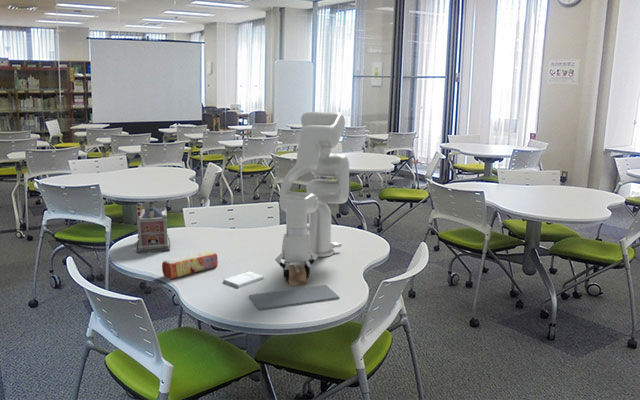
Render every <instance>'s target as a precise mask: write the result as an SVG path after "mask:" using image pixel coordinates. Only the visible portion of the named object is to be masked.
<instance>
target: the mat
mask: <svg viewBox="0 0 640 400" xmlns="http://www.w3.org/2000/svg"><path fill="white" fill-rule="evenodd" d="M249 298H250V300H251V301H252V302H253V304H254V305H255V307H256V308H257V309H258V311H262V310H269V309H276V308H283V307H290V306H297V305H303V304H311V303H319V302H325V301H331V300H332V301H333V300H339V299H340V296H339V295H338V294H337V293H336V292H335V291H334V290H333V289H331V288H330V287H329V286H328V285H327V284H321V285H314V286H307V287H306V286H305V287H299V288H292V289H284V290H275V291H270V292H268V291H267V292H261V293H254V294H249Z"/></svg>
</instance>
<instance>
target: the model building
mask: <svg viewBox="0 0 640 400" xmlns="http://www.w3.org/2000/svg"><path fill="white" fill-rule="evenodd" d="M136 205H137V210H136V223H137V225H136V226H137V241H136V249H135V250H136V251H135V252H136V253H135V254H137V253H138V254H149V253H148V252H150V253H158V252H161V251H162V252H170V250H171V239H170V237H169V234H168V224H167V223H168V219H167V215H168V214H167V207H165V206H164V207H162V208H158V207H155V206H154V202H153V201H149V207H147V208H145V209H144V208H141V207H142V206H141V202H137V204H136Z"/></svg>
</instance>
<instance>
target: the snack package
mask: <svg viewBox="0 0 640 400" xmlns="http://www.w3.org/2000/svg"><path fill="white" fill-rule="evenodd" d="M218 259H219V258H218V254H217V253H216V252H215V251H211V250H207V251H203V252H199V253H194V254H189V255H186V256H181V257H178V258H177V257H176V258H172V259H167V260H163V261H162V264H161V270H162V274H163V276H164V277H165V278H166V277H167V279H168V278H169V280H173V279H176V278H181V277H184V276H187V275H190V274H194V273H198V272H202V271H206V270H210V269H215V268H217V267H218V264H219V262H218V261H219V260H218Z"/></svg>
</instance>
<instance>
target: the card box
mask: <svg viewBox="0 0 640 400" xmlns="http://www.w3.org/2000/svg"><path fill="white" fill-rule="evenodd" d="M304 265H305V263H304V264H290V265H289V267H288V270H289V280H287V281H288V285H289V286H299V285H300V286H302V285H307V278H306V271H305V267H304Z"/></svg>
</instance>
